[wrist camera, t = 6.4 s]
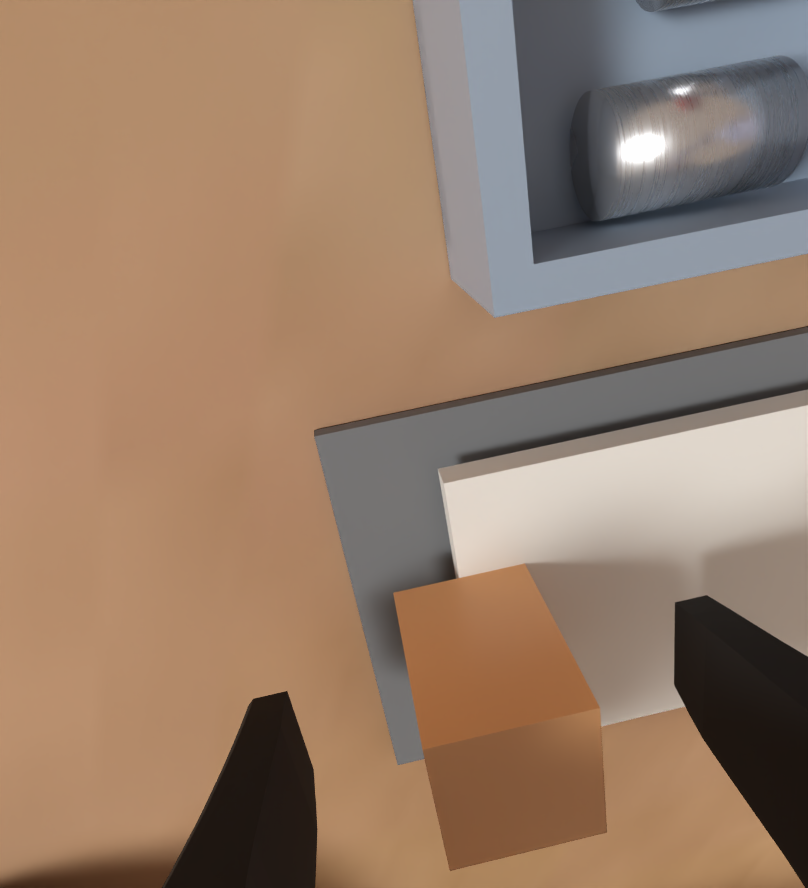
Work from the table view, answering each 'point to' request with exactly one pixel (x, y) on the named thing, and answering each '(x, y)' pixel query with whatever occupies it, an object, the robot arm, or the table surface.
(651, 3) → the dowel
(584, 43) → the tub
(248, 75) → the table surface
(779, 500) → the lid
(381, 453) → the mat
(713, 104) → the dowel
